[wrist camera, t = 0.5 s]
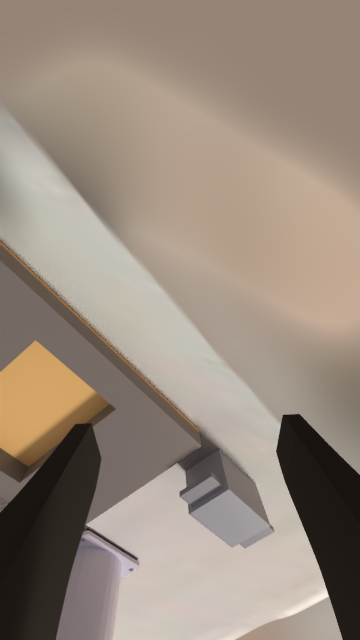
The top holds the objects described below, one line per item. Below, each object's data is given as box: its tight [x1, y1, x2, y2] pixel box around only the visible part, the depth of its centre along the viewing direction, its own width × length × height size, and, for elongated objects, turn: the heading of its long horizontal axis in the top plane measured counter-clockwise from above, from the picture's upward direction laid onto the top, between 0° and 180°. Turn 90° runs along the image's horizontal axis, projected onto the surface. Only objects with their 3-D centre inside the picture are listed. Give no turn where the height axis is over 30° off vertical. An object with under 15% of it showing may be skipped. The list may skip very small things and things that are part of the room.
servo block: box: [180, 449, 274, 548], centre depth 23 cm, size 4×9×4 cm, turn 40°
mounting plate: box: [0, 241, 202, 525], centre depth 20 cm, size 16×22×2 cm
